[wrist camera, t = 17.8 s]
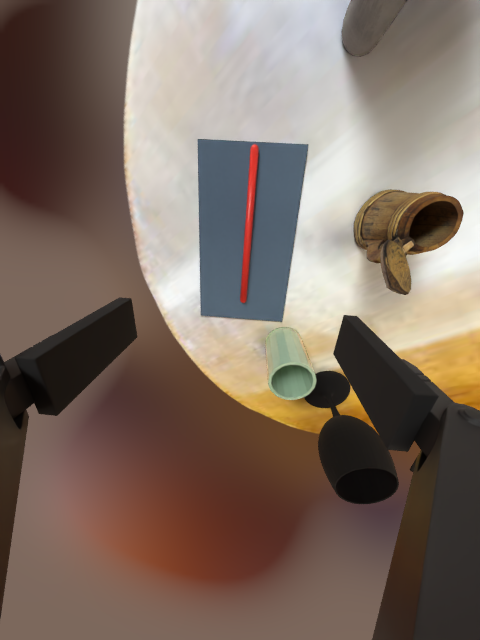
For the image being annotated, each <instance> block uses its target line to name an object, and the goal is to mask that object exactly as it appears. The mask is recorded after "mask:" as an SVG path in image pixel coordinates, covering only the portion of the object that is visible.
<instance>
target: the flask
mask: <svg viewBox="0 0 480 640" xmlns="http://www.w3.org/2000/svg"><path fill="white" fill-rule="evenodd" d="M406 1H407V0H351V1H350V4H349V6H348V8H347V11H346V15H345V18H344V21H343V27H342V41H343V44H344V46H345V48H346V50H347V51H348V52H349V53H350V54H352V55H354V56H363V55H365V54H368V53H369V52H370V51H371V50H372V49H373V48H374V47H375V46H376V45H377V43H378V42H379V41H380V39H381V38H382V36H383V35H384V33H385V32H386V30H387V29H388V27H389V26H390V25H391V23H392V22H393V20H394V19H395V17H396V16H397V14H398V13H399V12H400V10H401V9H402V7H403V6H404V4H405V3H406Z"/></svg>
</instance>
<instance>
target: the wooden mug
mask: <svg viewBox="0 0 480 640" xmlns="http://www.w3.org/2000/svg"><path fill="white" fill-rule="evenodd" d="M462 218H463V210H462V207H461V205H460V203H459V201H458V200H457V199H455V198H454V197H451V196H446V195H444V194H442V193H438V192H424V193H420V194H419V193H407V192H404V191H400V190H385V191H381V192H379V193H377V194H375V195H374V196H372V197H371V198H370V199H369V200H368V201H367V202H366V203H365V204H364V205H363V206H362V208H361V209H360V211H359V212H358V214H357V216H356V219H355V223H354V234H355V238H356V241H357V243H358V245H359V246H360V247H361V248H363V249H364V250H367V259H368V260H369V261H371V262H375V263H381V268H382V273H383V277H384V280H385V283H386V286H387V288H389V289H390V290H392V291H394V292H396V293H399V294H404V295H406V294H408V293H409V291H410V290H411V276H410V270H409V266H408V263H407V260H406V255H407V254H408V255H414V254H419V253H423V252H427V251H432V250H435V249H437V248H439V247H441V246H442V245H444V244H446V243H447V242H448V241H449V240H450V239H451V238H453V237H454V236H455V234H456V233H457V231H458V229H459V227H460V224H461V222H462Z"/></svg>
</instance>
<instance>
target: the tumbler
mask: <svg viewBox="0 0 480 640" xmlns="http://www.w3.org/2000/svg"><path fill="white" fill-rule="evenodd" d="M265 350H266V363H267V377H268V385H269V388H270V390H271V391H272V392H273V393H274V394H275V395H276V396H278V397H280V398H282V399H286V400H296V399H301V398H303V397H305V396H307V395H309V394H310V393H311V392H312V390H313V389H314V388H315V385H316V381H317V379H316V375H315V372H314V369H313V367H312V364H311V362H310V359H309V357H308V354H307V351H306V349H305V346H304V344H303V341H302V338H301V337H300V335H299V334H298V332H296V331H295V330H293V329H291V328H287V327H281V328H277V329H275V330H273V331H272V332H271V333H270V334H269V335H268V336H267V338H266V342H265Z"/></svg>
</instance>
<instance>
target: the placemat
mask: <svg viewBox="0 0 480 640" xmlns="http://www.w3.org/2000/svg"><path fill="white" fill-rule="evenodd" d="M253 144H256V145H257V146H258V147H259V153H258V165H257V177H256V190H255V202H254V214H253V226H252V238H251V251H250V263H249V275H248V287H247V299H246V302H245V303H242V302H241V301H240V293H241V278H242V264H243V249H244V235H245V221H246V206H247V192H248V177H249V163H250V149H251V146H252V145H253ZM307 150H308V145H306V144H286V143H266V142H246V141H226V140H206V139H198V181H199V237H200V293H201V315H203V316H216V317H229V318H242V319H255V320H267V321H280V322H282V318H283V311H284V304H285V298H286V291H287V284H288V278H289V271H290V264H291V257H292V251H293V244H294V237H295V231H296V224H297V217H298V210H299V204H300V197H301V190H302V184H303V177H304V170H305V163H306V157H307Z"/></svg>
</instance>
